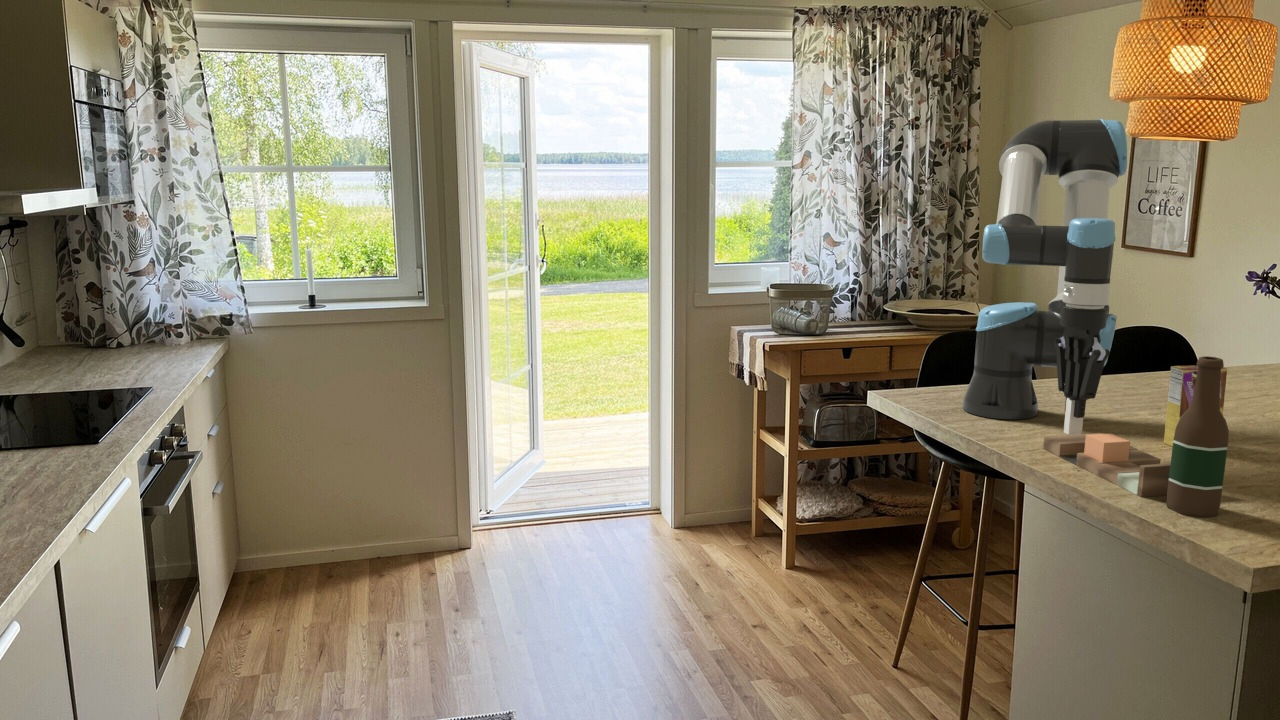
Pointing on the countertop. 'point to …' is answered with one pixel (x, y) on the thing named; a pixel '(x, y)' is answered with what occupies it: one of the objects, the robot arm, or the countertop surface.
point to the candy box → (1184, 396)
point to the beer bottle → (1200, 447)
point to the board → (1115, 465)
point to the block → (1107, 447)
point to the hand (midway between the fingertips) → (1072, 433)
